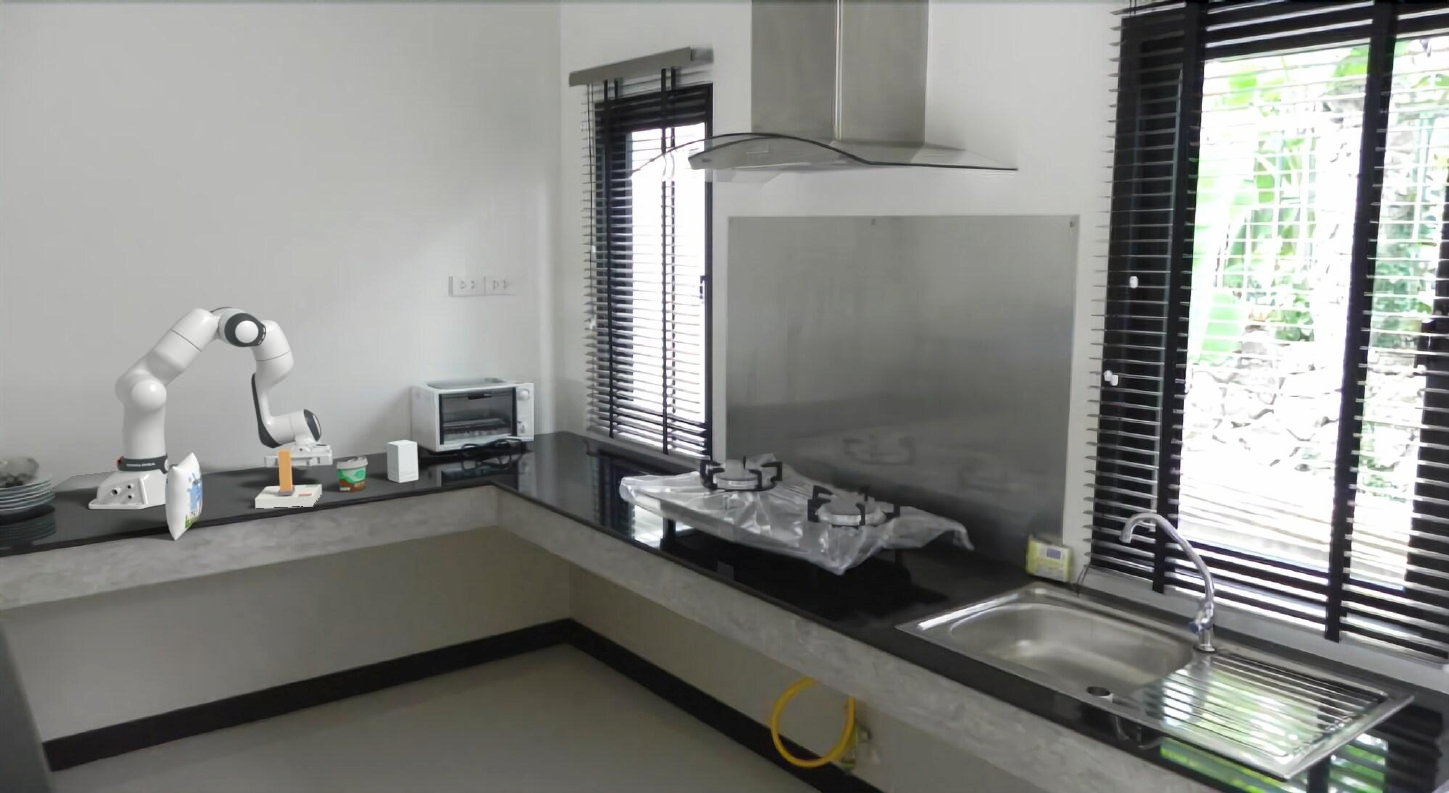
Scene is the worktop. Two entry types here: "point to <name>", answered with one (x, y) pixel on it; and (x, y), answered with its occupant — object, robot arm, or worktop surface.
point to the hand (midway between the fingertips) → (295, 464)
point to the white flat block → (289, 497)
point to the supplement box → (402, 461)
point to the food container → (352, 474)
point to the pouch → (183, 495)
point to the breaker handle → (285, 473)
